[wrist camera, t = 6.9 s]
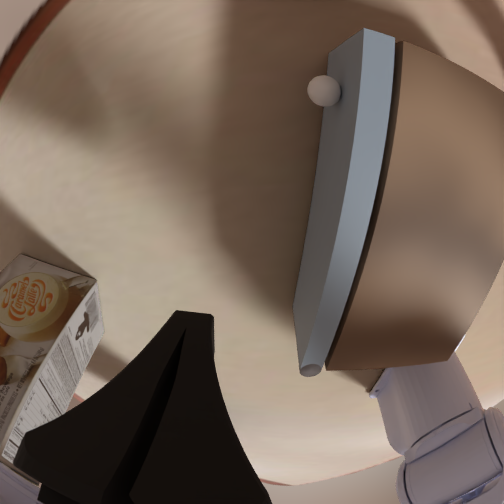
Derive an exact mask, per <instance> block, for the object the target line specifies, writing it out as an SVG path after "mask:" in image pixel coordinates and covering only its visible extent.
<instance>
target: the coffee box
mask: <svg viewBox="0 0 504 504" xmlns="http://www.w3.org/2000/svg"><path fill="white" fill-rule="evenodd" d="M103 334H104V327H103V321H102V314H101V308H100V301H99V293H98V285H97V280H95V279H92V278H89V277H86V276H83V275H80V274H77V273H74V272H71V271H68V270H65V269H62V268H59V267H56V266H53V265H50V264H47V263H44V262H42V261H39V260H36V259H33V258H30V257H28V256H25V255H22V254H19V255H18V256H17V257H16V258H15V259H14V260H13V261H12V262H11V263H10V264H9V265H8V266H6V267H5V268H4V269H3V270H2V271H1V272H0V462H1V463H2V464H4V465H5V466H6V467H8V468H9V469H11V470H12V471H13V472H15V473H16V474H18V475H19V476H21V477H22V478H24V479H26V480H27V481H29V482H30V483H32V484H34V485H36V486H39V481H37V480H35V479H34V478H32V477H30V476H29V475H27V474H26V473H24V472H22V471H21V470H19V469H18V468H16V467H15V466H14V464H13V461H14V458H15V456H16V453H17V451H18V448H19V446H20V443H21V441H22V439H23V437H24V435H25V433H26V432H28V431H30V430H32V429H35V428H37V427H39V426H41V425H43V424H45V423H48V422H50V421H52V420H54V419H56V418H57V417H59V416H61V415H63V414H64V413H65V412H66V410H67V408H68V405H69V403H70V401H71V399H72V396H73V394H74V392H75V390H76V388H77V386H78V383H79V381H80V379H81V377H82V375H83V373H84V371H85V369H86V367H87V365H88V363H89V361H90V359H91V356H92V354H93V353H94V351H95V349H96V347H97V345H98V343H99V342H100V340H101V338H102V336H103Z"/></svg>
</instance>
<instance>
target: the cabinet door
mask: <svg viewBox="0 0 504 504" xmlns="http://www.w3.org/2000/svg"><path fill="white" fill-rule="evenodd" d="M394 54H395V37H392V36H389V35H386V34H383V33H380V32H376V31H373V30H370V29H366V28H363V29H362V30H360V31H359V32H357V33H356V34H354V35H353V36H352V37H350V38H349V39H347V40H346V41H345V42H343V43H342V44H341V45H339V46H338V47H337V48H335V49H334V50H333V51H331V52H330V53H329V55H328V67H327V76H326V75H320V76H317V77H315V78H313V79H312V80H311V81H310V82H309V84H308V88H307V91H308V95H309V97H310V99H311V100H312V101H313V102H314V103H315V104H317V105H319V106H323V107H324V110H323V119H322V128H321V136H320V144H319V152H318V159H317V167H316V174H315V181H314V188H313V195H312V201H311V208H310V214H309V220H308V226H307V232H306V238H305V244H304V249H303V255H302V260H301V266H300V271H299V277H298V282H297V287H296V292H295V297H294V302H293V315H294V324H295V333H296V341H297V351H298V360H299V370H300V374H301V375H302V376H305V377H311V376H315V375H317V374H319V373H320V372H321V369H322V367H323V364H324V362H325V359H326V357H327V354H328V352H329V349H330V347H331V344H332V341H333V339H334V336H335V333H336V330H337V328H338V325H339V322H340V319H341V316H342V313H343V310H344V307H345V304H346V301H347V298H348V295H349V292H350V289H351V286H352V282H353V279H354V276H355V273H356V269H357V266H358V262H359V259H360V255H361V252H362V248H363V244H364V240H365V237H366V233H367V229H368V225H369V221H370V217H371V212H372V208H373V204H374V199H375V194H376V190H377V185H378V180H379V175H380V170H381V164H382V159H383V153H384V147H385V140H386V134H387V127H388V120H389V112H390V103H391V94H392V83H393V70H394Z"/></svg>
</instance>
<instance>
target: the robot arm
mask: <svg viewBox="0 0 504 504" xmlns="http://www.w3.org/2000/svg"><path fill="white" fill-rule="evenodd" d="M464 337H465V335H464ZM464 337H463V338H464ZM463 338H462V340H463ZM462 340H461V341H462ZM460 343H461V342H460ZM460 343H459V345H460ZM459 345H458V346H459ZM458 346H457V348H458ZM457 348H456V349H457ZM456 349H455V351H456ZM214 351H215V349H214V317H213V316H212V315H211V314H205V313H196V312H187V311H179V310H176V311H175V312H174V313H173V314H172V316H171V317H170V318H169V319H168V321H167V322H166V323H165V324H164V326H163V327H162V328H161V329H160V331H159V332H158V333H157V334H156V335H155V336H154V338H153V339H152V340H151V341H150V342H149V343H148V344H147V345H146V347H145V348H144V349H143V350H142V351H141V352H140V353H139V354H138V355H137V356H136V357H135V358H134V359H133V360H132V361H131V362H130V363H129V364H128V365H127V366H126V367H125V368H124V369H123V370H122V371H121V372H120V373H119V374H118V375H117V376H116V377H114V378H113V379H112V380H111V381H110V382H109V383H107V384H106V385H105V386H104V387H103V388H101V389H100V390H99V391H97V392H96V393H95V394H93V395H92V396H91V397H89V398H88V399H87V400H85V401H84V402H82V403H81V404H79V405H78V406H76V407H74V408H73V409H71V410H69V411H68V412H66V413H64V414H63V415H61V416H59V417H57V418H56V419H54V420H52V421H50V422H48V423H45V424H43V425H41V426H39V427H37V428H35V429H32V430H30V431H28V432H26V433H25V435H24V437H23V439H22V441H21V443H20V446H19V448H18V451H17V453H16V456H15V458H14V461H13V464H14V466H15V467H16V468H18V469H19V470H21V471H22V472H24V473H26V474H27V475H29V476H30V477H32V478H34V479H35V480H37V481H39V482H40V483H42V485H41V488H39V487H37V486H35V485H34V484H32V483H30V482H29V481H27V480H26V479H24V478H22V477H21V476H19V475H18V474H16V473H15V472H13V471H12V470H11V469H9V468H8V467H6V466H5V465H4V464H2V463H1V462H0V504H272V502H271V500H270V497H269V494H268V492H267V490H266V489H265V487H264V486H263V484H262V483H261V481H260V479H259V478H258V476H257V474H256V473H255V471H254V469H253V467H252V465H251V464H250V462H249V460H248V458H247V456H246V454H245V452H244V450H243V448H242V446H241V443H240V441H239V439H238V437H237V434H236V432H235V430H234V428H233V425H232V423H231V420H230V417H229V415H228V412H227V409H226V406H225V403H224V400H223V396H222V393H221V389H220V386H219V382H218V378H217V373H216V368H215V363H214ZM455 351H454V352H453V354H452V355H451V357H450V358H449V359H448V361H444V362H437V363H430V364H422V365H413V366H404V367H393V368H386V369H385V370H384V372H383V373H382V375H381V377H380V378H379V380H378V381H377V383H376V384H375V386H374V387H373V389H372V390H371V392H370V393H369V397H370V398H377V399H378V403H379V406H380V410H381V414H382V418H383V422H384V426H385V430H386V434H387V438H388V441H389V443H390V445H391V446H392V448H393V449H394V450H395V451H396V452H398V453H399V454H401V455H404V456H405V461H403V462H402V464H401V465H400V468H399V471H398V474H397V477H396V491H397V496H398V499H399V501H400V503H401V504H503V503H504V416H503V414H502V413H501V411H500V410H499V409H498V408H492V407H489V408H488V409H487V410H485V409H483V408H482V406H481V403H480V401H479V399H478V397H477V395H476V392H475V390H474V388H473V386H472V384H471V382H470V380H469V378H468V376H467V374H466V372H465V370H464V368H463V366H462V364H461V362H460V361H459V359H458V357H457V355H456V353H455ZM494 477H495V478H494ZM492 478H493V479H492ZM489 480H490V481H489ZM487 481H488V482H487ZM486 482H487V483H486ZM484 483H485V484H484ZM482 484H483V485H482ZM479 486H480V487H479ZM477 487H478V488H477ZM475 488H476V489H475ZM473 489H474V490H473ZM468 492H469V493H468ZM466 493H467V494H466ZM464 494H465V495H464ZM462 495H463V496H462ZM460 496H461V497H460ZM458 497H459V498H458ZM456 498H457V499H456ZM454 499H455V500H454Z"/></svg>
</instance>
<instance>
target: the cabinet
mask: <svg viewBox="0 0 504 504" xmlns="http://www.w3.org/2000/svg"><path fill="white" fill-rule="evenodd" d="M503 260H504V92H503V91H501V90H500V89H498V88H497V87H495V86H494V85H492V84H491V83H489V82H487V81H486V80H484V79H483V78H481V77H479V76H477V75H476V74H474V73H472V72H470V71H469V70H467V69H465V68H463V67H461V66H459V65H458V64H456V63H454V62H452V61H450V60H448V59H446V58H443V57H441V56H439V55H437V54H435V53H433V52H430V51H428V50H426V49H423V48H421V47H419V46H416V45H414V44H411V43H408V42H406V41H401V42H398V43H395V54H394V70H393V83H392V94H391V103H390V112H389V120H388V127H387V134H386V140H385V147H384V153H383V159H382V164H381V170H380V175H379V180H378V185H377V190H376V194H375V199H374V204H373V208H372V212H371V217H370V221H369V225H368V229H367V233H366V237H365V240H364V244H363V248H362V252H361V255H360V259H359V262H358V266H357V269H356V273H355V276H354V279H353V282H352V286H351V289H350V292H349V295H348V298H347V301H346V304H345V307H344V310H343V313H342V316H341V319H340V322H339V325H338V328H337V330H336V333H335V336H334V339H333V341H332V344H331V347H330V349H329V352H328V354H327V357H326V359H325V367H326V371H330V370H362V369H379V368H393V367H404V366H413V365H422V364H430V363H437V362H444V361H448V359H449V358H450V357H451V355H452V354H453V352H454V351H455V349H456V348H457V346H458V345H459V343H460V342H461V340H462V338H463V337H464V335H465V334H466V332H467V330H468V329H469V327H470V325H471V324H472V322H473V320H474V319H475V317H476V315H477V313H478V312H479V310H480V308H481V306H482V304H483V302H484V300H485V299H486V297H487V295H488V293H489V291H490V289H491V287H492V285H493V282H494V280H495V278H496V276H497V274H498V272H499V269H500V267H501V265H502V262H503Z"/></svg>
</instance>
